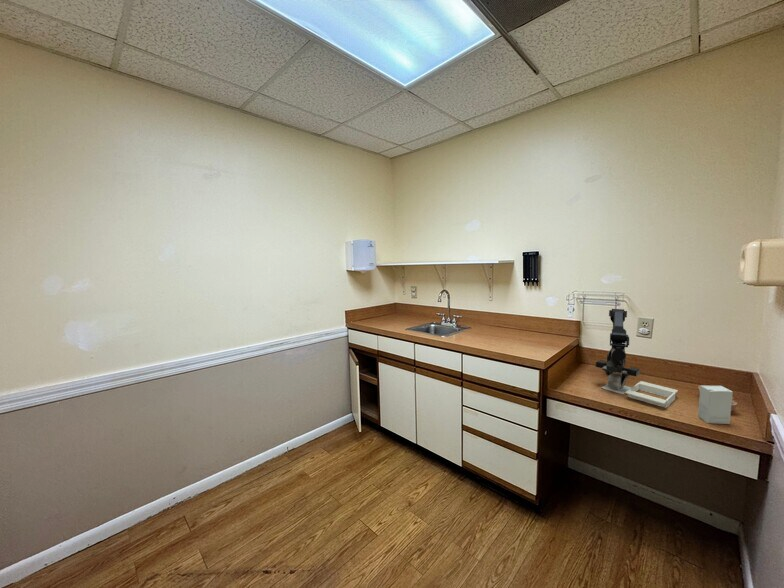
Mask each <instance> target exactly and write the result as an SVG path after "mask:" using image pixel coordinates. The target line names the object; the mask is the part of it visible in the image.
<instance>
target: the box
mask: <svg viewBox="0 0 784 588" xmlns="http://www.w3.org/2000/svg"><path fill="white" fill-rule="evenodd" d="M621 380H622V373H619V372H616V373H615V372H613V373H612V374H610V375H608V376H607V384H608V386H609V387H612V388H616V389H620V388H621V387H623V386H626V380H625V381H624V383H623V385H621Z"/></svg>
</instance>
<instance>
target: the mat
mask: <svg viewBox="0 0 784 588" xmlns="http://www.w3.org/2000/svg"><path fill="white" fill-rule="evenodd" d="M600 388H601V389H603V390H605V391H610V392H613V393H616V394H620V395H624V394H626V393H625V392H626V391H628V390H629V389H630V388H632V386H627V385H624V386H623V387H621V388H620V389H616V388H612V387H609V386H608V383H606V384H604V385H603V386H601V387H600Z"/></svg>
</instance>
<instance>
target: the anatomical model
mask: <svg viewBox="0 0 784 588" xmlns="http://www.w3.org/2000/svg"><path fill="white" fill-rule="evenodd" d="M700 386H710V385H708V384H701V385H700V384H699V385H698V386H697V387H698V392H699V393H700ZM737 407H738V403H737V401H735V400H734V399H732V405H731V412H732V411H734V410H736V408H737Z"/></svg>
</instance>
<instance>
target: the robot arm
mask: <svg viewBox="0 0 784 588" xmlns="http://www.w3.org/2000/svg"><path fill="white" fill-rule="evenodd" d="M608 317H609V319H610V321H611V323H612V328H611V332H610V334H609V346H611V348H610V350H608V352H607V353H608V354H607V355H606V360H603V359H600V360H598V361H596V362H595V365H594V367H595V368H598V369H599V368H600V369H602V371H604V372H605V374H606V375H607V377H608V375H610V374H612V373H613V372H615V373H616V372H619V373H622V380H621V385H623V383H624V381H625V382H626V381H627V380H626V379H627V378H628V377H629V376H632V377H637V376H640V375H641V370H640V369H639V368H636V367H632V366H630V367H625V366H626V357H627V355H626V348H629V346H630V336H629V334H627V330H626V329H625V328H624V322H625V320H626V318H628V310H625V309H624V308H623V309H622V308H611V309H609V310H608Z"/></svg>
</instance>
